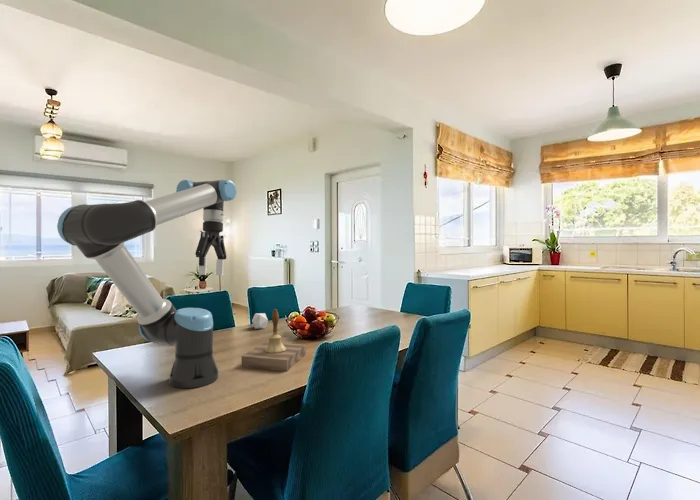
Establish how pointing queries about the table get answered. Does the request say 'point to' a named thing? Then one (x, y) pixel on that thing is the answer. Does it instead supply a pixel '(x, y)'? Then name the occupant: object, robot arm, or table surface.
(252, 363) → the walnut plinth
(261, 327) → the die
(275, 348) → the hand bell
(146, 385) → the table surface
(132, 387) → the table surface
